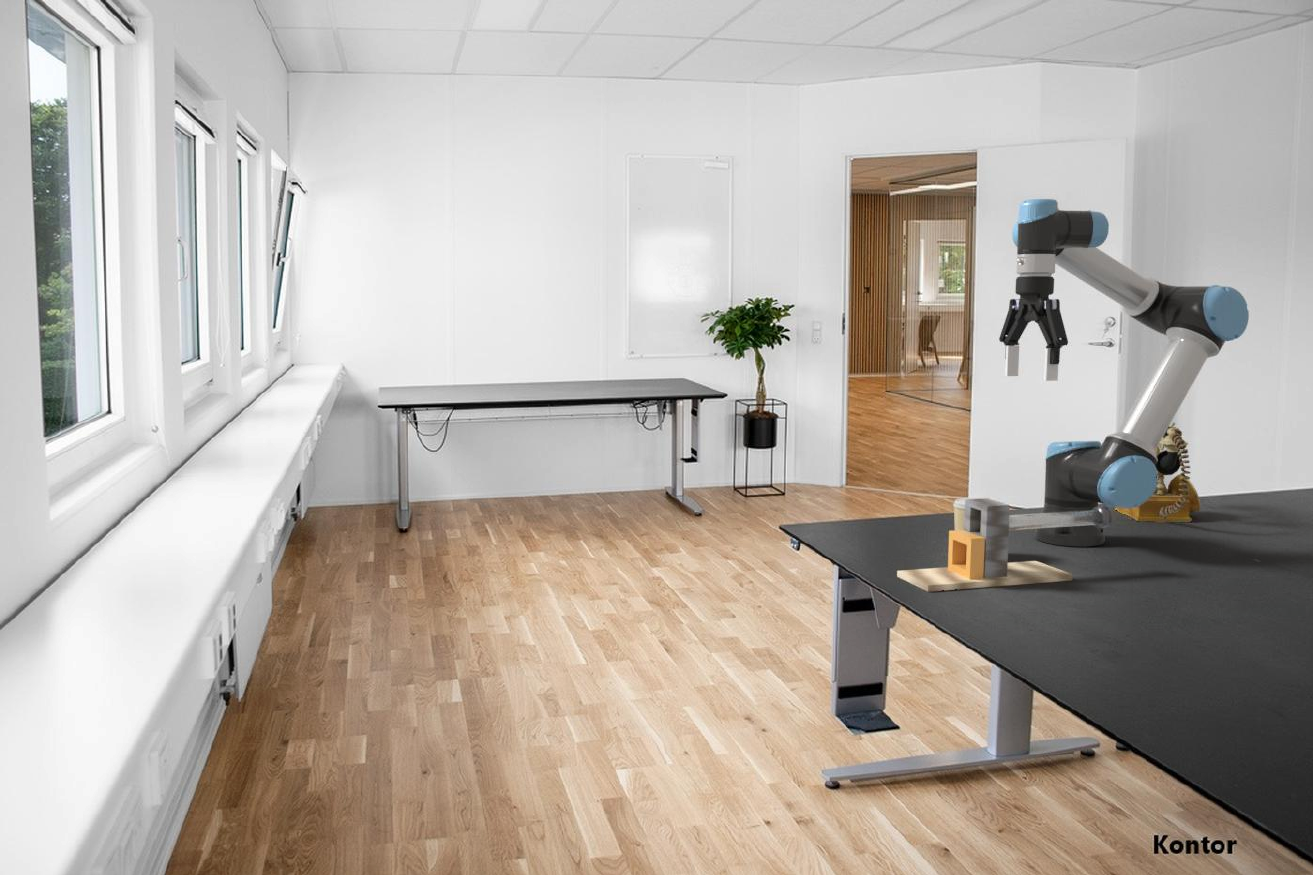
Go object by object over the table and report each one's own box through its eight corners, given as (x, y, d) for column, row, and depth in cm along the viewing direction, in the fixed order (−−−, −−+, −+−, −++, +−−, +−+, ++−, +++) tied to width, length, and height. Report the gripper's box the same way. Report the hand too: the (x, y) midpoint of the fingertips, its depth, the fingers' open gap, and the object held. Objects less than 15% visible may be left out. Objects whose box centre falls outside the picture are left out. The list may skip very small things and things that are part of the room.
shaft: (1096, 525, 230) (1097, 504, 229) (1110, 529, 225) (1112, 508, 225) (979, 532, 222) (980, 511, 221) (991, 537, 218) (992, 515, 217)
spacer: (961, 568, 224) (962, 529, 223) (983, 578, 216) (984, 538, 215) (947, 569, 223) (949, 530, 222) (969, 579, 215) (971, 538, 214)
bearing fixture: (1035, 566, 231) (1038, 493, 229) (1072, 580, 220) (1076, 503, 218) (897, 576, 222) (899, 500, 220) (927, 591, 211) (930, 511, 209)
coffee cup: (998, 561, 235) (1000, 506, 234) (952, 559, 237) (955, 504, 235) (994, 552, 244) (996, 498, 243) (950, 550, 246) (952, 496, 245)
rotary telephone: (1236, 535, 263) (1243, 430, 260) (1159, 534, 264) (1166, 429, 261) (1174, 507, 298) (1180, 414, 295) (1107, 506, 299) (1112, 413, 296)
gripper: (985, 276, 240) (981, 374, 243) (1057, 274, 217) (1052, 382, 219) (1015, 276, 243) (1011, 374, 245) (1089, 274, 219) (1084, 382, 221)
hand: (1030, 378), depth 232 cm, fingers open, 13 cm apart
